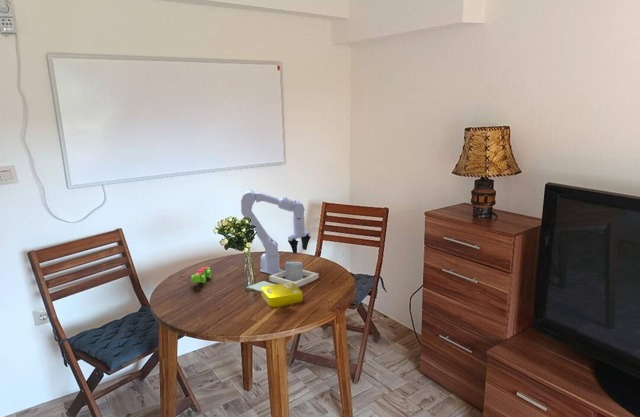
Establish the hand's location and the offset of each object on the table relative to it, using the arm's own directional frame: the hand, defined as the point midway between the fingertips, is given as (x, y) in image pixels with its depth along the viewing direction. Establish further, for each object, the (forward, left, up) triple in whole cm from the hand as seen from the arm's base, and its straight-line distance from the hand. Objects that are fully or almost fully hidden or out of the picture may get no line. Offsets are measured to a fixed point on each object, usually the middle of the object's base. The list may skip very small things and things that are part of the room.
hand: (299, 251), depth 223 cm
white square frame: (+7, -12, -10) cm, 17 cm away
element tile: (+18, -33, -11) cm, 39 cm away
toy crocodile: (-30, -40, -11) cm, 51 cm away
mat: (+2, -28, -10) cm, 30 cm away
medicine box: (+7, -12, -11) cm, 18 cm away
